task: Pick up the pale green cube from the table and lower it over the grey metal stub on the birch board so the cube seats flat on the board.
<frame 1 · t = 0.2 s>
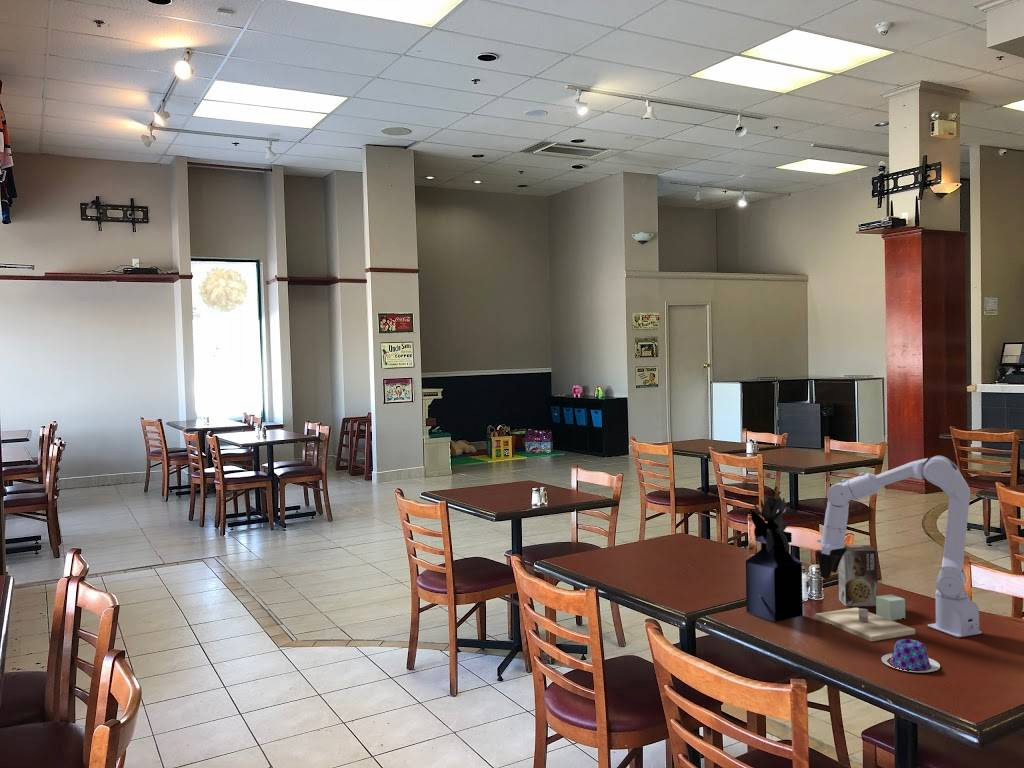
hand: (828, 574, 219), 11 cm above the table, tool pointing down, fingers open, 7 cm apart
board: (863, 625, 208), on the table
pale green cube: (890, 616, 215), on the table
vase: (773, 615, 219), on the table
coffee box: (858, 604, 228), on the table
purple patterned hat: (910, 666, 181), on the table
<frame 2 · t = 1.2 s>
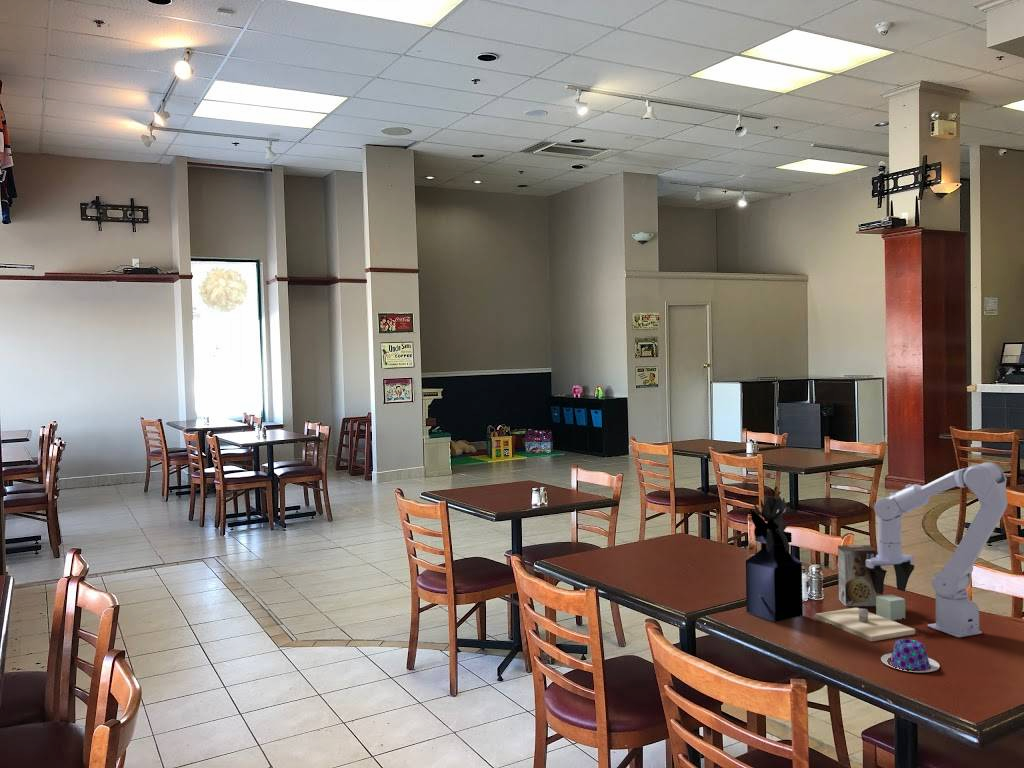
hand: (890, 591, 215), 7 cm above the table, tool pointing down, fingers open, 7 cm apart
nothing on the table moved.
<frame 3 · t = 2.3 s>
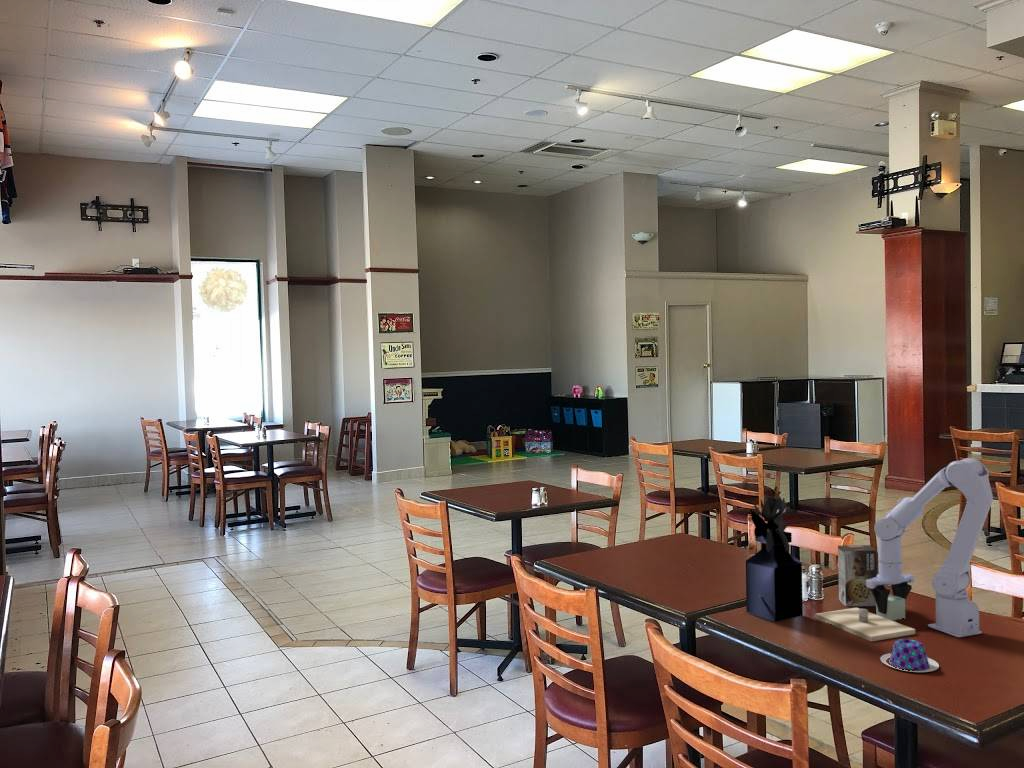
hand: (890, 611, 215), 1 cm above the table, tool pointing down, fingers closed on pale green cube, 5 cm apart
pale green cube: (890, 616, 215), on the table, touching gripper
everything else where it was.
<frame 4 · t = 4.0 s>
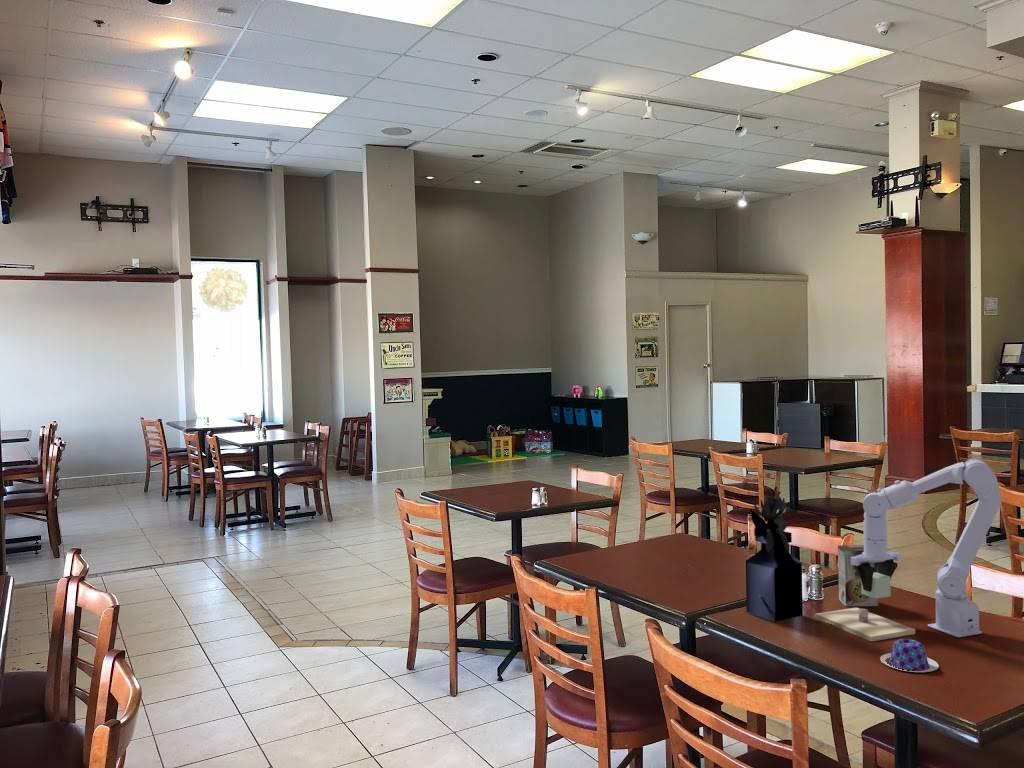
hand: (875, 589, 211), 8 cm above the table, tool pointing down, fingers closed on pale green cube, 5 cm apart
pale green cube: (875, 594, 211), point 7 cm above the table, touching gripper
everything else where it was.
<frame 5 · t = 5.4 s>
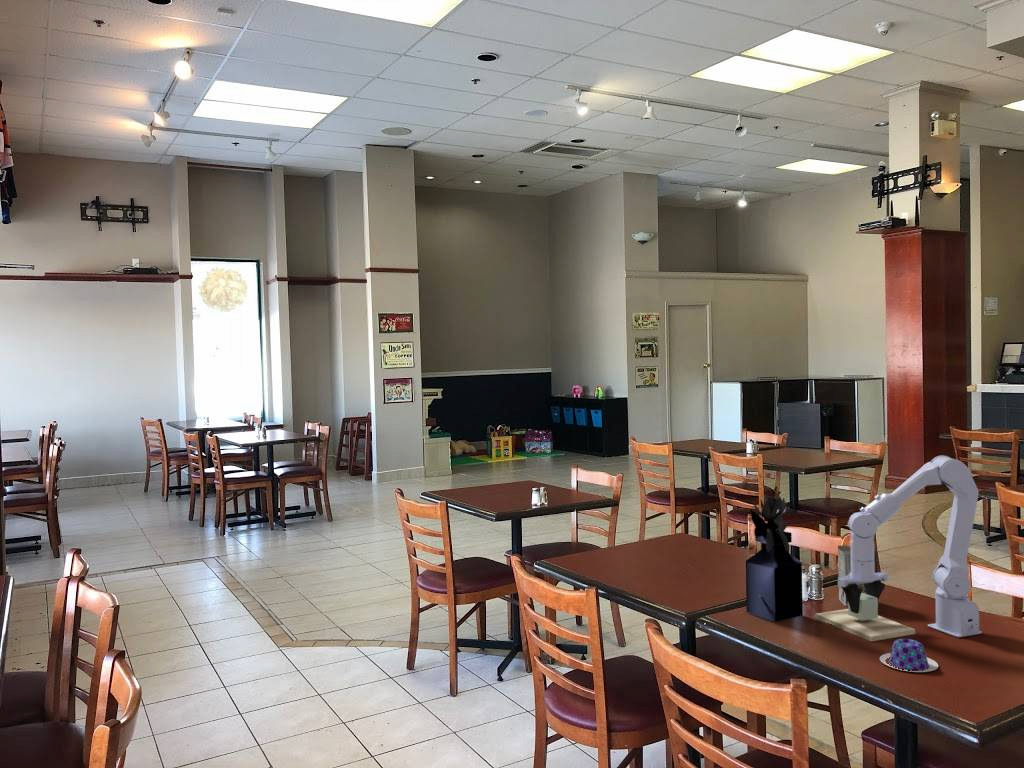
hand: (863, 611, 208), 4 cm above the table, tool pointing down, fingers closed on pale green cube, 5 cm apart
pale green cube: (862, 616, 208), point 2 cm above the table, touching gripper
everything else where it was.
when the fingers open (3 cm above the table, at t = 6.1 s): pale green cube stays where it is, resting on board.
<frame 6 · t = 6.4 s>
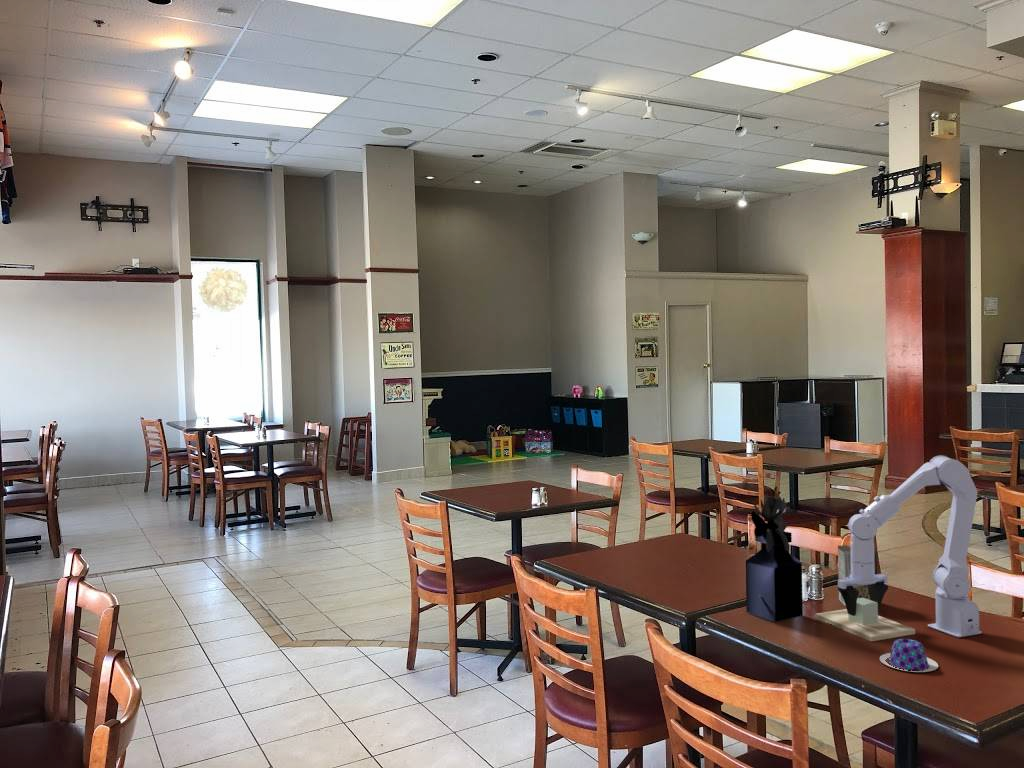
hand: (863, 612, 208), 3 cm above the table, tool pointing down, fingers open, 7 cm apart
pale green cube: (863, 621, 208), point 1 cm above the table, touching board
everything else where it was.
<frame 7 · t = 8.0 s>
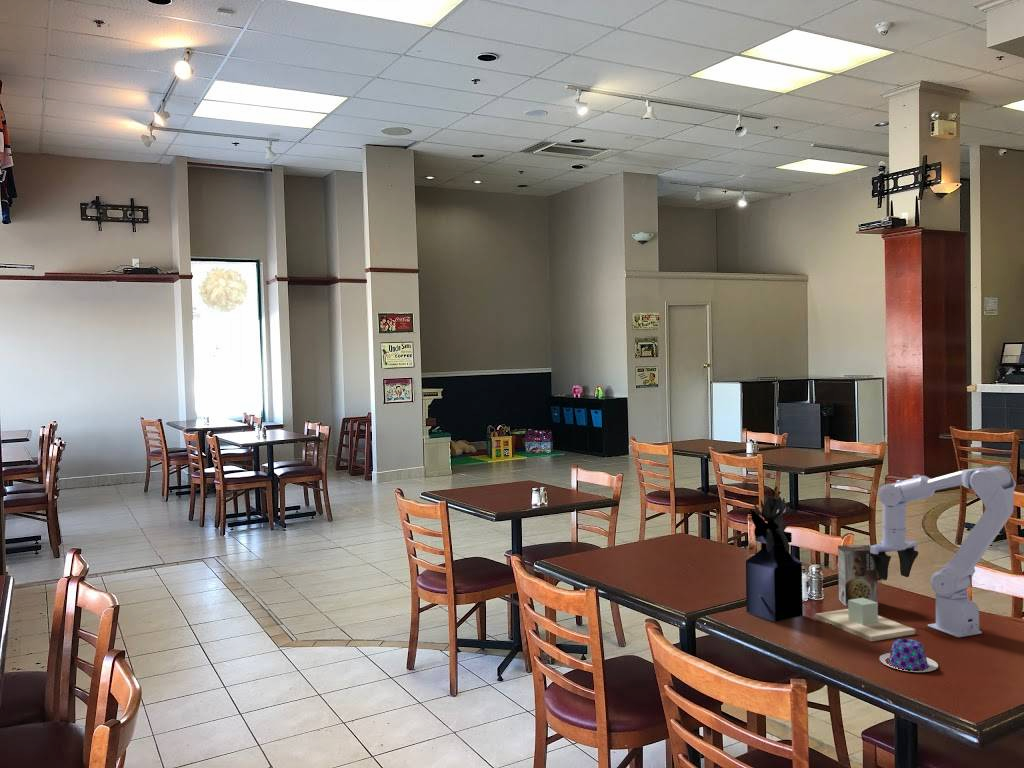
hand: (894, 577, 216), 10 cm above the table, tool pointing down, fingers open, 7 cm apart
nothing on the table moved.
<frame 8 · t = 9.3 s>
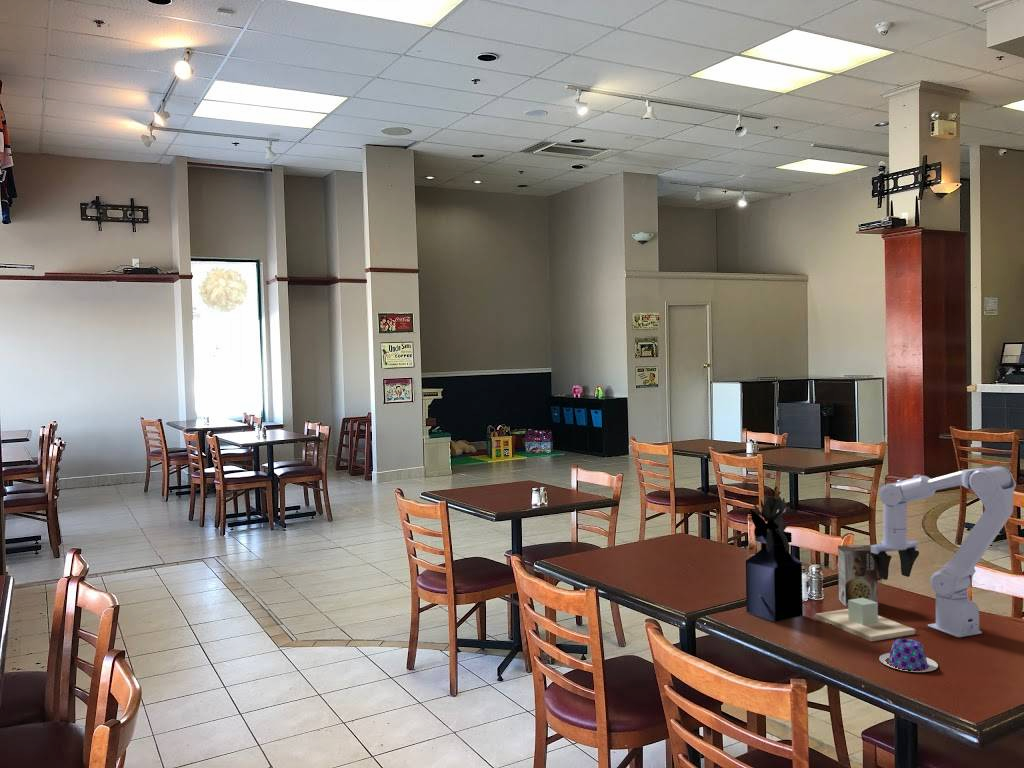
hand: (894, 577, 216), 10 cm above the table, tool pointing down, fingers open, 7 cm apart
nothing on the table moved.
at the end: pale green cube 0.1 cm off-centre on the board, point 1.2 cm above the board's base; pale green cube tilted 0°; the gripper is holding nothing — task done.
